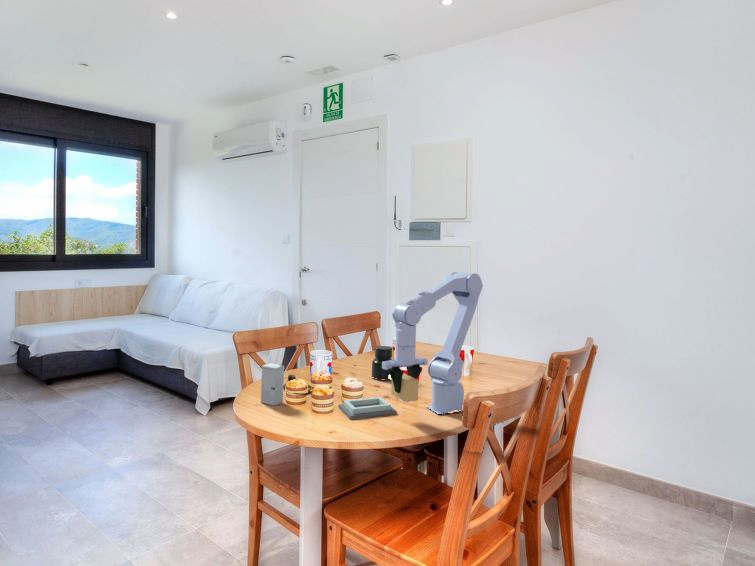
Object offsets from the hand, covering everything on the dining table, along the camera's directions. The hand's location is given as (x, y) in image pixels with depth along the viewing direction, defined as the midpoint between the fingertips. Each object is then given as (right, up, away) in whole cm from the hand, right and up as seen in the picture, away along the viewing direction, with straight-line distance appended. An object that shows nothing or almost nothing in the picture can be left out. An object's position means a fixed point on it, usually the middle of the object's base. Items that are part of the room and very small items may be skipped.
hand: (404, 391), depth 139 cm
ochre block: (0, -2, 0) cm, 2 cm away
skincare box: (-42, -7, +13) cm, 44 cm away
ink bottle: (-6, -6, +47) cm, 48 cm away
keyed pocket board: (-11, -8, +8) cm, 16 cm away
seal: (-36, -6, +29) cm, 47 cm away
